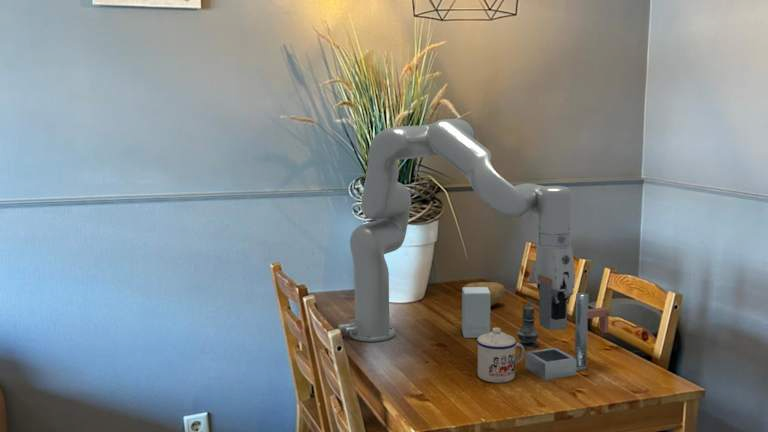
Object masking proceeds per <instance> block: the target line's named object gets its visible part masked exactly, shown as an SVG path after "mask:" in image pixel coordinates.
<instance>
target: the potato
mask: <svg viewBox="0 0 768 432" xmlns="http://www.w3.org/2000/svg"><path fill="white" fill-rule="evenodd" d="M463 287H488V289H489V291H490V293H491V295H490V307H492V306H494V305H495V304H498V303H499V302H500V301H501V300H502V299H503V298H504V296H505V292H506V288H505V286H504V285H503V284H502V283H499V282H495V281H493V282H492V281H490V282H488V281H480V282H472V283H471V282H470V283H467V284H465V285H464V286H463Z"/></svg>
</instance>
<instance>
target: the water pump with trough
mask: <svg viewBox="0 0 768 432" xmlns="http://www.w3.org/2000/svg"><path fill="white" fill-rule="evenodd" d="M589 295H590V294H588V293H585V292H579V293H576V295H575V296H576V297H575V298H576V301H575V325H574V327H575V329H574V356H572V355H570V354H568V353H567V352H565V351H563V350H561V349H559V348H557V347H550V348H544V349H538V350H537V349H536V350H530V351H525V353H524V356H525V360H524V361H525V362H524V363H525V365H524V369H526V370H528V371H529V372H531V373H532V374H534V375H535V376H537V377H538V378H540V379H542V380H544V381H549V380H550V381H551V380H556V379H561V378H568V377H573V376H577V371H584V370H587V355H588V353H587V352H588V349H587V348H588V328H589V327H588V325H589V324H588V323H589V319H593V318H594V319H595V318H596V319H597V318H599V327H598V328H599V329H598V331H599V332H602V333H603V334H606V333H607V334H609V317H610V316H609V313H610V309H609V308H606V307H604V306H603V307H596V308H594V307H593V308H589V299H590V298H589Z"/></svg>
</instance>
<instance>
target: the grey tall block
mask: <svg viewBox="0 0 768 432" xmlns="http://www.w3.org/2000/svg"><path fill="white" fill-rule="evenodd" d="M538 280H539V281H540V296H539V322H538V323H539V327H542V328H544V329H546V330H548V331H555V330H556V331H557V330H562V329H567V326H568V325H567V323H568V317H567V316H568V301H567V302H566V318H565V319H558V320H554V319H553V303H555V299H554V290H553V289H551V285H552V282H551V279H548V278H546V277H543V276H540V275H538ZM560 289H562V286H560ZM558 293H559V296H560V294H561V293H562V292H558Z"/></svg>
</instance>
